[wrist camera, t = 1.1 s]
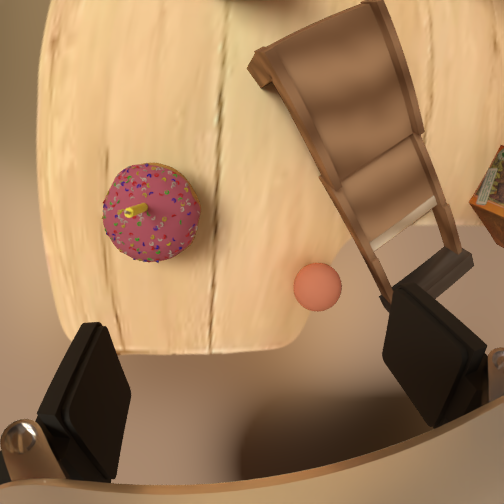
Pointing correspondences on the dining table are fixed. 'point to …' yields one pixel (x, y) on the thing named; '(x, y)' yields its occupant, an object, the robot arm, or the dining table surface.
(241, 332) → the dining table surface
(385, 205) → the lane
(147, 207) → the cupcake
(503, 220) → the milk carton
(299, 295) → the ball
